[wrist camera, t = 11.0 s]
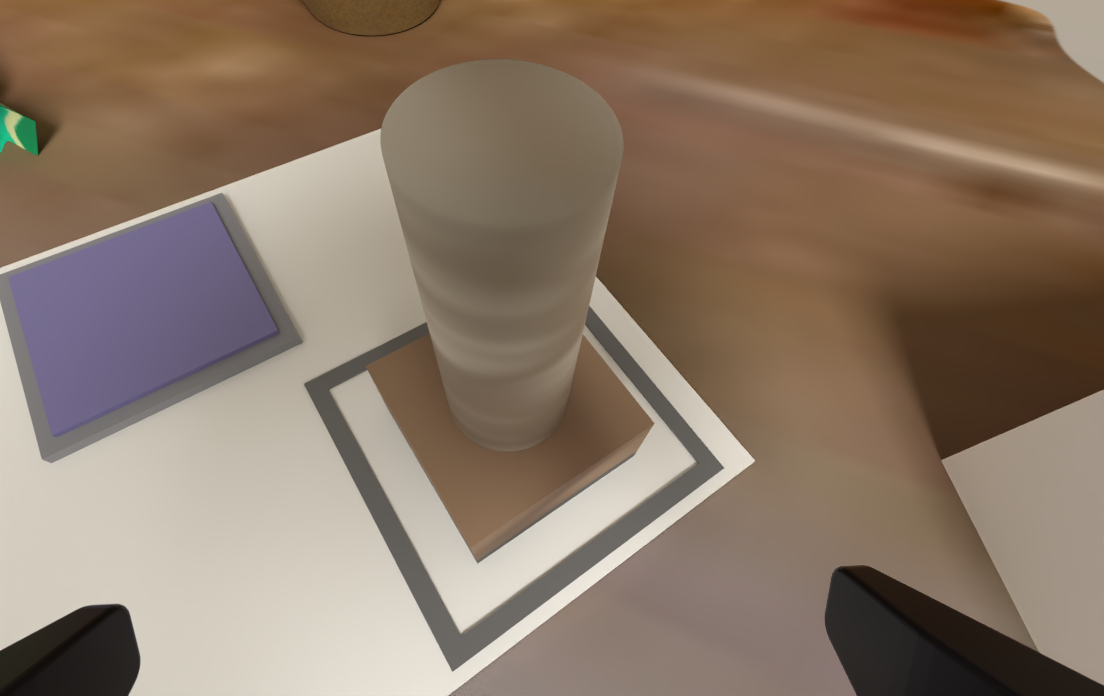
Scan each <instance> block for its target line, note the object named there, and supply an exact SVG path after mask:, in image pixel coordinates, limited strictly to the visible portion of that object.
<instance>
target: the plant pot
mask: <svg viewBox="0 0 1104 696" xmlns="http://www.w3.org/2000/svg"><path fill="white" fill-rule="evenodd" d="M302 1H303V3H304V4H305V5H306V7H307V8H308V9H309V11H310V12H311V13H312V14H313V16H314V17H315V18H316V19H318V20H319V21H320V22H321V23H323V24H324V25H326V26H328V27H330V28H333V29H335V30H338V31H341V32H345V33H349V34H356V35H366V36H375V35H387V34H392V33H397V32H401V31H404V30H407V29H410V28H412V27H414V26H416V25H418V24H420V23H422V22H423V21H425V20H426V19H427V18H428V17H430V16H431V15H432V14H433V12H434V11H435V10H436V8H437V7H438V5H439V1H440V0H302Z"/></svg>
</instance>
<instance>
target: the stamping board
mask: <svg viewBox="0 0 1104 696" xmlns="http://www.w3.org/2000/svg"><path fill="white" fill-rule="evenodd" d="M380 133H381V129H379V130H376V131H373V132H370V133H368V134H365V135H362V136H359V137H357V138H354V139H351V140H348V141H346V142H343V143H340V144H338V145H335V146H332V147H329V148H327V149H324V150H321V151H318V152H316V153H313V154H310V155H308V156H305V157H302V158H299V159H297V160H294V161H291V162H288V163H286V164H283V165H280V166H277V167H275V168H272V169H269V170H267V171H264V172H261V173H258V174H256V175H253V176H250V177H247V178H245V179H242V180H239V181H236V182H234V183H231V184H228V185H226V186H223V187H220V188H217V189H215V190H212V191H209V192H206V193H204V194H201V195H198V196H196V197H193V198H190V199H187V200H185V201H182V202H179V203H176V204H174V205H171V206H168V207H165V208H163V209H160V210H157V211H155V212H152V213H149V214H146V215H144V216H141V217H138V218H135V219H133V220H130V221H127V222H124V223H122V224H119V225H116V226H114V227H111V228H108V229H105V230H103V231H100V232H97V233H94V234H92V235H89V236H86V237H84V238H81V239H78V240H75V241H73V242H70V243H67V244H64V245H62V246H59V247H56V248H53V249H51V250H48V251H45V252H43V253H40V254H37V255H34V256H32V257H29V258H26V259H23V260H21V261H18V262H15V263H13V264H10V265H7V266H4V267H2V268H0V650H2V649H4V648H6V647H8V646H9V645H11V644H13V643H15V642H17V641H19V640H21V639H23V638H24V637H26V636H28V635H30V634H32V633H34V632H36V631H38V630H39V629H41V628H43V627H45V626H47V625H49V624H51V623H52V622H54V621H56V620H58V619H60V618H62V617H64V616H66V615H67V614H69V613H71V612H73V611H75V610H77V609H79V608H81V607H84V606H88V605H99V604H121V605H124V606H125V607H126V608H127V609H128V610H129V612H130V616H131V620H132V624H133V628H134V632H135V636H136V640H137V644H138V648H139V652H140V657H141V662H140V670H139V674H138V677H137V679H136V682H135V684H134V686H133V688H132V690H131V692H130V694H129V696H448V695H449V694H451V693H452V692H453V691H455V690H456V689H457V688H458V687H460V686H461V685H462V684H464V683H465V682H466V681H468V680H469V679H470V678H472V677H473V676H474V675H475V674H477V673H478V672H479V671H481V670H482V669H483V668H485V667H486V666H487V665H489V664H490V663H491V662H493V661H494V660H495V659H496V658H498V657H499V656H500V655H502V654H503V653H504V652H506V651H507V650H508V649H510V648H511V647H512V646H513V645H515V644H516V643H517V642H519V641H520V640H521V639H523V638H524V637H525V636H527V635H528V634H529V633H531V632H532V631H533V630H534V629H536V628H537V627H538V626H540V625H541V624H542V623H544V622H545V621H546V620H548V619H549V618H550V617H551V616H553V615H554V614H555V613H557V612H558V611H559V610H561V609H562V608H563V607H565V606H566V605H567V604H568V603H570V602H571V601H572V600H574V599H575V598H576V597H578V596H579V595H580V594H582V593H583V592H584V591H586V590H587V589H588V588H589V587H591V586H592V585H593V584H595V583H596V582H597V581H599V580H600V579H601V578H603V577H604V576H605V575H606V574H608V573H609V572H610V571H612V570H613V569H614V568H616V567H617V566H618V565H620V564H621V563H622V562H624V561H625V560H626V559H627V558H629V557H630V556H631V555H633V554H634V553H635V552H637V551H638V550H639V549H641V548H642V547H643V546H644V545H646V544H647V543H648V542H650V541H651V540H652V539H654V538H655V537H656V536H658V535H659V534H660V533H661V532H663V531H664V530H665V529H667V528H668V527H669V526H671V525H672V524H673V523H675V522H676V521H677V520H679V519H680V518H681V517H682V516H684V515H685V514H686V513H688V512H689V511H690V510H692V509H693V508H694V507H696V506H697V505H698V504H699V503H701V502H702V501H703V500H705V499H706V498H707V497H709V496H710V495H711V494H713V493H714V492H715V491H717V490H718V489H719V488H720V487H722V486H723V485H724V484H726V483H727V482H728V481H730V480H731V479H732V478H734V477H735V476H736V475H737V474H739V473H740V472H741V471H743V470H744V469H745V468H747V467H748V466H749V465H751V464H752V463H753V462H754V461H755V460H754V459H753V458H752V457H751V456H750V454H749V453H748V452H747V451H746V450H745V449H744V447H743V446H742V445H741V444H740V443H739V442H738V441H737V439H736V438H735V437H734V436H733V435H732V434H731V432H730V431H729V430H728V429H727V428H726V427H725V425H724V424H723V423H722V422H721V421H720V420H719V418H718V417H717V416H716V415H715V414H714V413H713V412H712V410H711V409H710V408H709V407H708V406H707V405H706V403H705V402H704V401H703V400H702V399H701V398H700V396H699V395H698V394H697V393H696V392H695V391H694V390H693V388H692V387H691V386H690V385H689V384H688V383H687V381H686V380H685V379H684V378H683V377H682V376H681V374H680V373H679V372H678V371H677V370H676V369H675V367H674V366H673V365H672V364H671V363H670V362H669V361H668V359H667V358H666V357H665V356H664V355H663V354H662V352H661V351H660V350H659V349H658V348H657V347H656V345H655V344H654V343H653V342H652V341H651V340H650V338H649V337H648V336H647V335H646V334H645V333H644V332H643V330H642V329H641V328H640V327H639V326H638V325H637V323H636V322H635V321H634V320H633V319H632V318H631V316H630V315H629V314H628V313H627V312H626V311H625V310H624V308H623V307H622V306H621V305H620V304H619V303H618V301H617V300H616V299H615V298H614V297H613V296H612V294H611V293H610V292H609V291H608V290H607V289H606V287H605V286H604V285H603V284H602V283H601V282H600V281H599V279H598V278H597V277H595V281H594V286H593V290H592V295H591V299H590V304H589V308H588V313H587V317H586V322H585V326H584V331H583V335H584V336H585V337H586V339H587V340H588V341H589V342H590V344H591V345H592V346H593V347H594V349H595V350H596V351H597V352H598V353H599V355H600V356H601V357H602V358H603V360H604V361H605V362H606V363H607V365H608V366H609V367H610V368H611V370H612V371H613V372H614V373H615V375H616V376H617V377H618V378H619V380H620V381H621V382H622V383H623V385H624V386H625V387H626V388H627V390H628V391H629V392H630V393H631V395H632V396H633V397H634V398H635V400H636V401H637V402H638V403H639V405H640V406H641V407H642V408H643V410H644V411H645V412H646V413H647V414H648V416H649V417H650V418H651V419H652V421H653V422H654V423H655V424H654V425H653V427H652V428H651V430H650V431H649V433H648V435H647V436H646V438H645V439H644V441H643V442H642V444H641V446H640V447H639V449H638V450H637V452H636V454H635V455H634V456H633V457H632V458H630V459H629V460H627V461H626V462H625V463H623V464H622V465H620V466H619V467H617V468H616V469H614V470H613V471H611V472H610V473H609V474H607V475H606V476H604V477H603V478H601V479H600V480H598V481H597V482H595V483H594V484H593V485H591V486H590V487H588V488H587V489H585V490H584V491H582V492H581V493H580V494H578V495H577V496H575V497H574V498H572V499H571V500H569V501H568V502H566V503H565V504H564V505H562V506H561V507H559V508H558V509H556V510H555V511H553V512H552V513H550V514H549V515H548V516H546V517H545V518H543V519H542V520H540V521H539V522H537V523H536V524H534V525H533V526H532V527H530V528H529V529H527V530H526V531H524V532H523V533H521V534H520V535H518V536H517V537H516V538H514V539H513V540H511V541H510V542H508V543H507V544H505V545H504V546H503V547H501V548H500V549H498V550H497V551H495V552H494V553H492V554H491V555H489V556H488V557H487V558H485V559H484V560H482V561H481V562H479V563H478V564H477V562H476V560H475V558H474V557H473V555H472V553H471V552H470V550H469V548H468V546H467V545H466V543H465V541H464V539H463V538H462V536H461V534H460V533H459V531H458V529H457V527H456V526H455V524H454V522H453V520H452V519H451V517H450V515H449V514H448V512H447V510H446V508H445V507H444V505H443V503H442V501H441V500H440V498H439V496H438V495H437V493H436V491H435V489H434V488H433V486H432V484H431V482H430V481H429V479H428V477H427V476H426V474H425V472H424V470H423V469H422V467H421V465H420V463H419V462H418V460H417V458H416V457H415V455H414V453H413V451H412V450H411V448H410V446H409V444H408V443H407V441H406V439H405V438H404V436H403V434H402V432H401V431H400V429H399V427H398V425H397V424H396V422H395V420H394V419H393V417H392V415H391V413H390V412H389V410H388V408H387V406H386V405H385V403H384V401H383V399H382V397H381V395H380V393H379V391H378V389H377V387H376V386H375V384H374V382H373V380H372V378H371V376H370V374H369V372H368V370H367V368H366V367H365V366H367V365H368V364H370V363H372V362H374V361H376V360H378V359H380V358H382V357H384V356H386V355H388V354H390V353H392V352H394V351H396V350H398V349H400V348H402V347H404V346H405V345H407V344H409V343H411V342H413V341H415V340H417V339H419V338H421V337H423V336H425V335H427V334H429V329H428V325H427V322H426V318H425V314H424V310H423V306H422V303H421V299H420V295H419V291H418V288H417V284H416V280H415V276H414V273H413V269H412V265H411V261H410V258H409V254H408V250H407V246H406V243H405V239H404V235H403V231H402V228H401V224H400V220H399V216H398V212H397V209H396V205H395V201H394V197H393V194H392V190H391V186H390V182H389V179H388V175H387V171H386V167H385V164H384V160H383V156H382V151H381V145H380Z"/></svg>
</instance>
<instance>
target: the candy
mask: <svg viewBox="0 0 1104 696" xmlns="http://www.w3.org/2000/svg"><path fill="white" fill-rule="evenodd" d="M7 141H11V142H13V143H14V144H16V145H18V146H20V147H22V148H23V149H25V150H27V151H29V152H31V153H32V154H35V155H38V145H37V132H36V121H34V120H32V119H30V118H28V117H26V116H24V115H22V114H20V113H18V112H16V111H14V110H12V109H10V108H8V107H6V106H4V105H2V104H0V153H1V151H2V149H3V147H4V144H5V143H6V142H7Z"/></svg>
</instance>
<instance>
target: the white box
mask: <svg viewBox="0 0 1104 696" xmlns="http://www.w3.org/2000/svg"><path fill="white" fill-rule="evenodd" d="M941 461H942V463H943V465H944V467H945V469H946V471H947V473H948V475H949V477H950V479H951V481H952V483H953V485H954V487H955V489H956V491H957V493H958V495H959V497H960V499H961V501H962V503H963V505H964V506H965V508H966V510H967V512H968V514H969V516H970V518H971V520H972V522H973V524H974V526H975V528H976V530H977V532H978V534H979V536H980V538H981V540H982V542H983V544H984V546H985V548H986V550H987V551H988V553H989V555H990V557H991V559H992V561H993V563H994V565H995V567H996V569H997V571H998V573H999V575H1000V577H1001V579H1002V581H1003V583H1004V585H1005V587H1006V589H1007V591H1008V593H1009V595H1010V597H1011V598H1012V600H1013V602H1014V604H1015V606H1016V608H1017V610H1018V612H1019V614H1020V616H1021V618H1022V620H1023V622H1024V624H1025V626H1026V628H1027V630H1028V632H1029V634H1030V636H1031V638H1032V640H1033V642H1034V644H1035V645H1036V647H1037V649H1038V651H1039V653H1041V654H1043V655H1045V656H1047V657H1049V658H1051V659H1053V660H1055V661H1057V662H1059V663H1061V664H1063V665H1065V666H1067V667H1069V668H1071V669H1073V670H1075V671H1077V672H1078V673H1080V674H1082V675H1084V676H1086V677H1088V678H1090V679H1092V680H1094V681H1096V682H1098V683H1100V684H1102V685H1104V390H1102V391H1099V392H1097V393H1095V394H1092V395H1090V396H1088V397H1085V398H1083V399H1081V400H1079V401H1076V402H1074V403H1072V404H1069V405H1067V406H1065V407H1062V408H1060V409H1058V410H1056V411H1053V412H1051V413H1049V414H1046V415H1044V416H1042V417H1039V418H1037V419H1035V420H1033V421H1030V422H1028V423H1026V424H1023V425H1021V426H1019V427H1016V428H1014V429H1012V430H1010V431H1007V432H1005V433H1003V434H1000V435H998V436H996V437H993V438H991V439H989V440H987V441H984V442H982V443H980V444H977V445H975V446H973V447H970V448H968V449H966V450H964V451H961V452H959V453H957V454H954V455H952V456H950V457H947V458H945V459H943V460H941Z"/></svg>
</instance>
